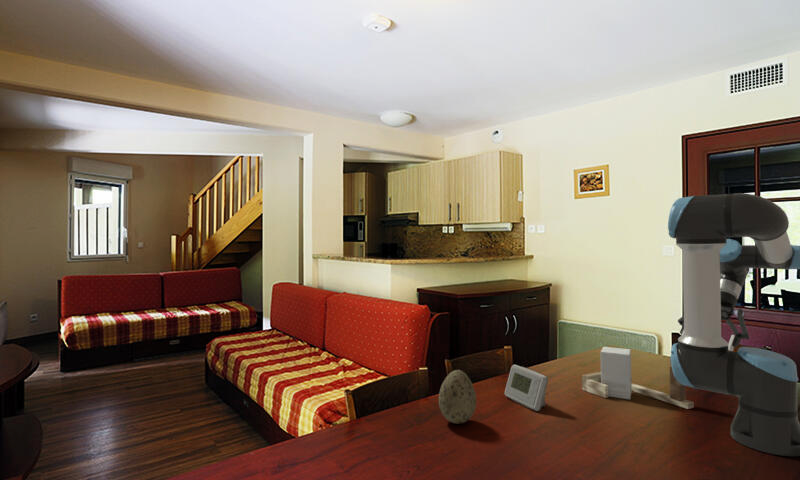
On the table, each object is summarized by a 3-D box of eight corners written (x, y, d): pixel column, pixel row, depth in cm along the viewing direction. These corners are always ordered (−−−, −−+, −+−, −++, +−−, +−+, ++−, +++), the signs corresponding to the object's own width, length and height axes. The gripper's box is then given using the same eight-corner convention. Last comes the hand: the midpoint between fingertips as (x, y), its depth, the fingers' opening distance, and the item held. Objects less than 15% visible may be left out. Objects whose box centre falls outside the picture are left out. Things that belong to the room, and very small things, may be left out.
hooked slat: (693, 407, 135) (693, 370, 136) (658, 417, 128) (657, 378, 128) (615, 382, 160) (615, 350, 160) (581, 389, 152) (581, 356, 152)
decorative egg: (482, 420, 127) (482, 368, 127) (466, 433, 118) (466, 378, 118) (449, 412, 133) (449, 363, 133) (431, 424, 124) (431, 371, 124)
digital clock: (502, 395, 147) (502, 364, 147) (526, 393, 149) (525, 362, 149) (527, 414, 131) (527, 378, 131) (553, 411, 134) (553, 376, 134)
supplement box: (632, 392, 150) (631, 348, 150) (630, 400, 142) (630, 354, 143) (603, 387, 155) (603, 345, 155) (600, 395, 147) (600, 351, 147)
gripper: (773, 308, 140) (753, 365, 134) (688, 295, 161) (668, 344, 155) (766, 295, 137) (746, 353, 131) (681, 284, 158) (660, 334, 152)
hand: (703, 349), depth 143 cm, fingers open, 13 cm apart
